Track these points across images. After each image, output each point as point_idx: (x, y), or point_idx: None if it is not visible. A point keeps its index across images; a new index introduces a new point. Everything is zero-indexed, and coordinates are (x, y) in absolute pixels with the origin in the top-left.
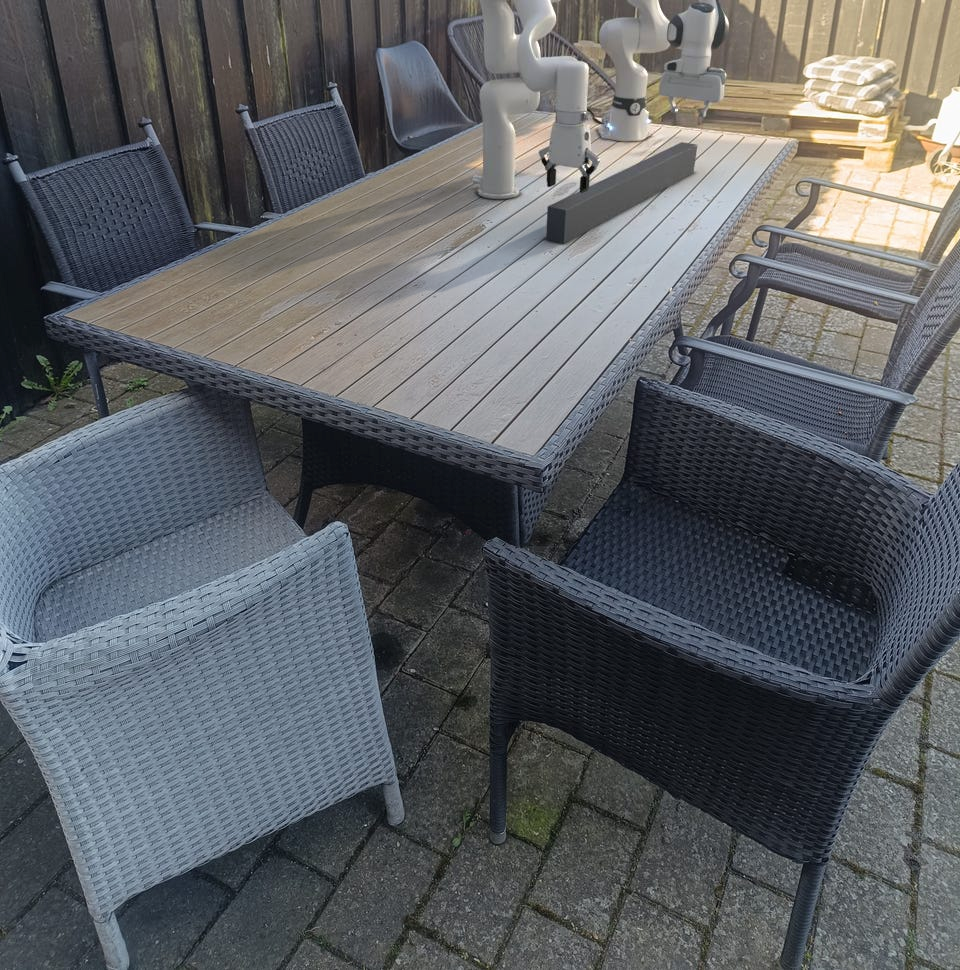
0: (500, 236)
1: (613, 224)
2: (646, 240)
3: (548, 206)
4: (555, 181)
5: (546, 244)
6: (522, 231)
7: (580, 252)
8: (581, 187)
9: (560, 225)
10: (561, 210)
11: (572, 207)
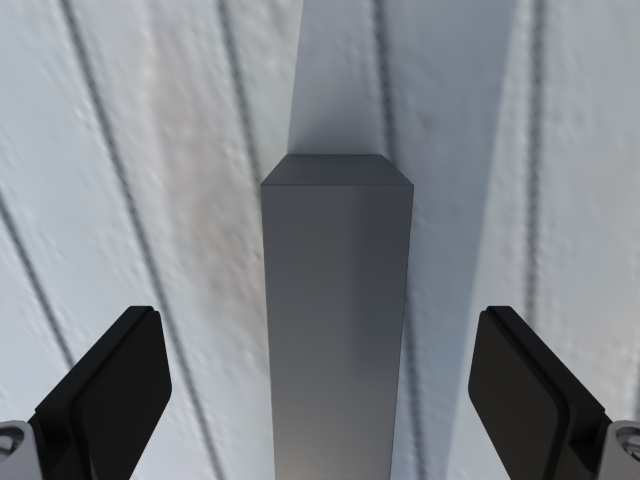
0: (602, 58)
1: (252, 439)
2: (62, 368)
3: (406, 185)
4: (477, 408)
5: (347, 99)
6: (528, 185)
7: (163, 101)
8: (116, 330)
9: (303, 165)
10: (296, 183)
11: (265, 268)
